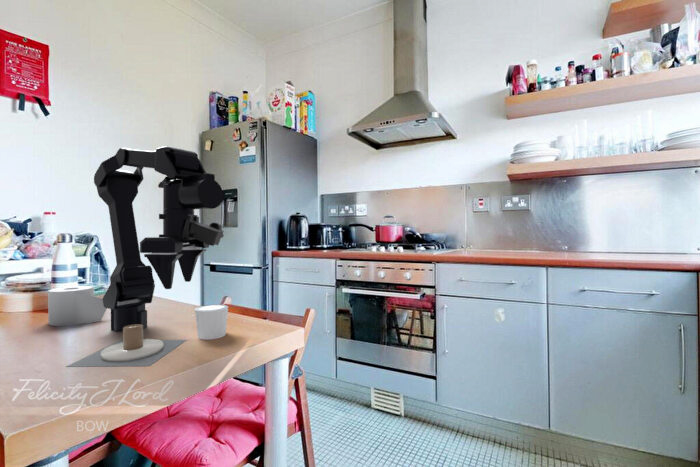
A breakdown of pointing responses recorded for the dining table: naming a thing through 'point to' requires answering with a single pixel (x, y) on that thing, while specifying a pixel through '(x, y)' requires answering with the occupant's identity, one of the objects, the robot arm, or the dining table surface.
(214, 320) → the white cup
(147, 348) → the lid
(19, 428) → the dining table surface
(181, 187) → the robot arm
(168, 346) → the mat
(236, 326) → the dining table surface
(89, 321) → the toilet tissue
